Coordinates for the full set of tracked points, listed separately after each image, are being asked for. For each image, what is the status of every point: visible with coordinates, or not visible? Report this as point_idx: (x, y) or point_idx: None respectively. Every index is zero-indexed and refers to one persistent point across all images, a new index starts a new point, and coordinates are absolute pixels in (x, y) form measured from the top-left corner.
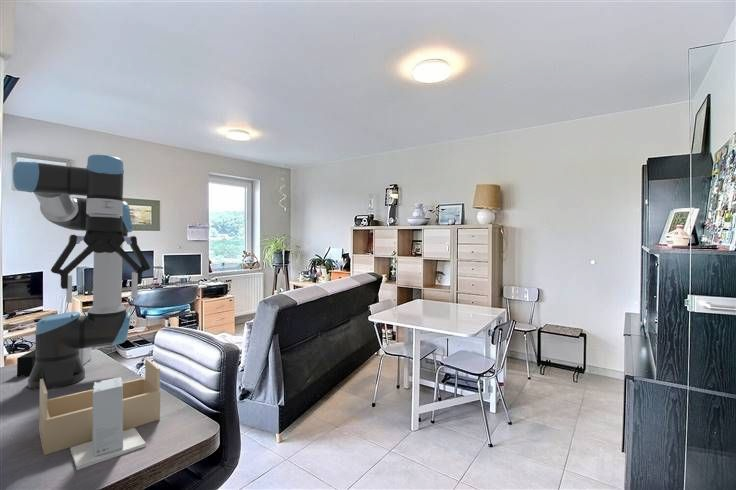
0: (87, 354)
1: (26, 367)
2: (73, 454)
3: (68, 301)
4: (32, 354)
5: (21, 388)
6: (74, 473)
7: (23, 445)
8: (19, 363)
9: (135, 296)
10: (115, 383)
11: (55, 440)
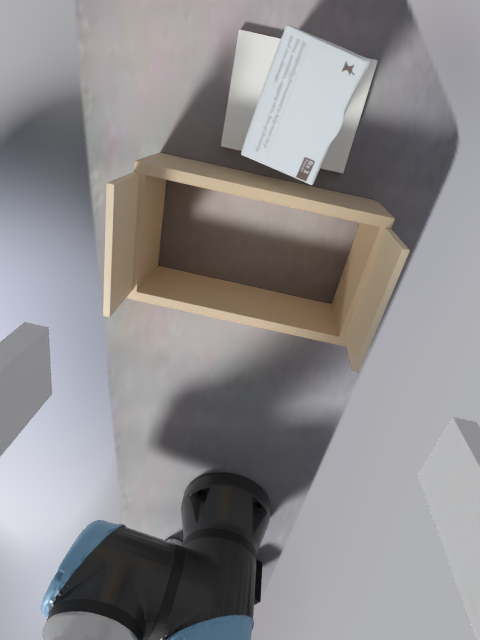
0: None
1: None
2: (354, 132)
3: (476, 428)
4: None
5: (277, 514)
6: (384, 50)
7: None
8: (258, 587)
9: (33, 330)
10: (286, 86)
11: (363, 201)
